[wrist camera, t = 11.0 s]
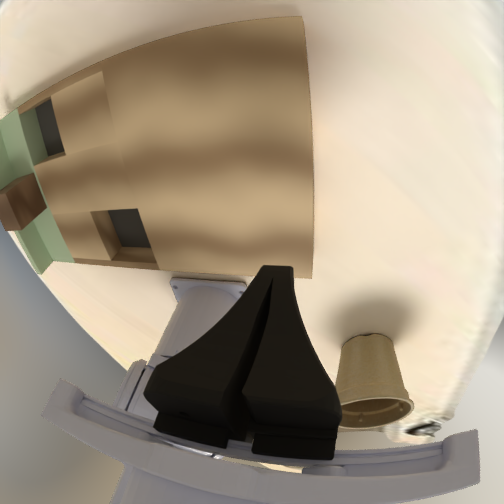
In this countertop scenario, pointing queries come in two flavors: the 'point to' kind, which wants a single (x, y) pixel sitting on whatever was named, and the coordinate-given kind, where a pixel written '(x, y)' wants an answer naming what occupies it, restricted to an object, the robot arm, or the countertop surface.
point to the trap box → (174, 155)
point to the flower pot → (371, 384)
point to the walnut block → (20, 203)
